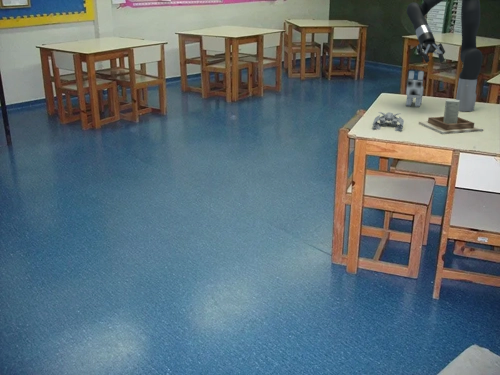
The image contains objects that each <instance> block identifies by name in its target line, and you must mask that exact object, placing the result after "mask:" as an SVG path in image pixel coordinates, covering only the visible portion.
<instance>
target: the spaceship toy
mask: <svg viewBox="0 0 500 375" xmlns="http://www.w3.org/2000/svg"><path fill="white" fill-rule="evenodd" d="M378 113H379V115H378V116H376V117H374V120H373V122H372V126H373V129H376V130H381V128H382V125H384V124H385V123H387V122H390V123H391V124H392V125H394V126H395V128H394V131H396V132H399V131H403V128H404V122H405V120H404V119H403V118H402V116H398V115H402V113H400V112H397V113H396V114H394V113H393V112H387V113H384V112H381V111H378ZM397 116H398V117H397ZM398 123H399V124H398Z"/></svg>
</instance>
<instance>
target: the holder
mask: <svg viewBox="0 0 500 375" xmlns="http://www.w3.org/2000/svg"><path fill="white" fill-rule="evenodd" d="M443 121H444V116H433V117H432V116H431V117H428V119H427V120H426V121H424V120H423V121H418V125H421V126H423V127H424V128H427V129H429V130H432V131H434V132H437V133H439V134H442V135H447V134H460V133H474V132H483V131H484V128H482V127H479V126H477V125H475V122H473V121H470V120H468V119H464V118H462V117H459V116H458V120H457V123H454V124H446V123H444V122H443Z"/></svg>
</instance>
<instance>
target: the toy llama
mask: <svg viewBox="0 0 500 375" xmlns="http://www.w3.org/2000/svg"><path fill="white" fill-rule="evenodd" d="M424 74H425V71H421V70H420V71H419V70H418V75H417V79H414V78H415V70H409V71H408V78H407V79H408V80H407V83H406V93H405V95H406V101H405V102H406V104H405V106H406V107H411V106H412V104H413V103H414V102H413V101H414V99H415V104H414V107H416V108H420V107H421V105H422V103H423V95H424V86H423V82H424V76H425V75H424Z"/></svg>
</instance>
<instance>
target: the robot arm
mask: <svg viewBox="0 0 500 375" xmlns="http://www.w3.org/2000/svg"><path fill="white" fill-rule="evenodd" d="M443 1H444V0H422V3H421V5H420V4H419V3H417V2H410V3H409V4H408V5H407V7H406V14H407V16H408V19H409V20H410V22H411V24H412V26H413V29H414V31H415V34H416V38H417V41H418V44H417V46H416V47H415V48H416V52H417V54H418V57H422V58H423V60H424V62H425V63H427V64H428V63H429V61H430V58H429V56H428V54H434V55H436V56H438V60H439V61H440V63H443V62H444V61H445V57H444V55H445V53H446V50H445V48H444V46H443V44H442V43H441V42H439V44H437V43H436V38H435V37H434V34H433V32H432V29H431V28H430V26H429V23H428V21H427V19H426V18H425V16H426V15H427V14H428V13H429V12H430V11H431V10H432V9H433V8H434V7H436V6H437V5H438V4H440V3H441V2H443ZM460 8H461V11H460V14H461V15H460V18H461V19H460V20H461V21H460V22H461V24H460V25H461V26H460V28H461V44H460V45H461V48H460V61H461V62H462V64H463V65H462V70H461V72H459V76H458V83H457V89H456V90H457V91H456V95H455V96H456V98H455V100H460V104H459V112H465V111H469V112H474V111H475V106H476V99H477V93H476V91H477V83H478V77H479V75H480V73H481V67H482V63H483V53H482V51H481V50H480V49H478V48H477V34H478V31H479V29H480V24H481V2H480V0H461V7H460ZM473 110H474V111H473Z"/></svg>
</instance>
